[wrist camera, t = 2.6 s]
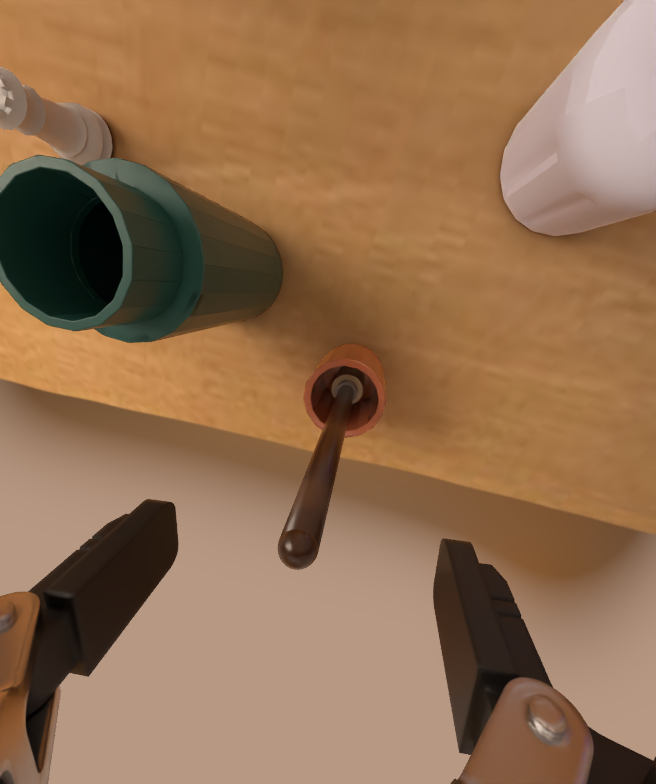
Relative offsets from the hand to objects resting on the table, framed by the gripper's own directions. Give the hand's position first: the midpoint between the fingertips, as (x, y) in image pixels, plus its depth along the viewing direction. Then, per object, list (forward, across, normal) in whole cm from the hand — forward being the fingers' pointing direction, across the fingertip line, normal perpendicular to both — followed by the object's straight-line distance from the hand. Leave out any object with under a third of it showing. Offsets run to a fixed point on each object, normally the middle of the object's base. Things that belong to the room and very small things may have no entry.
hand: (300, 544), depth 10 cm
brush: (+21, 0, 0) cm, 21 cm away
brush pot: (+22, 0, 0) cm, 22 cm away
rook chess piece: (+22, +22, -18) cm, 36 cm away
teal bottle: (+22, +10, -8) cm, 25 cm away
